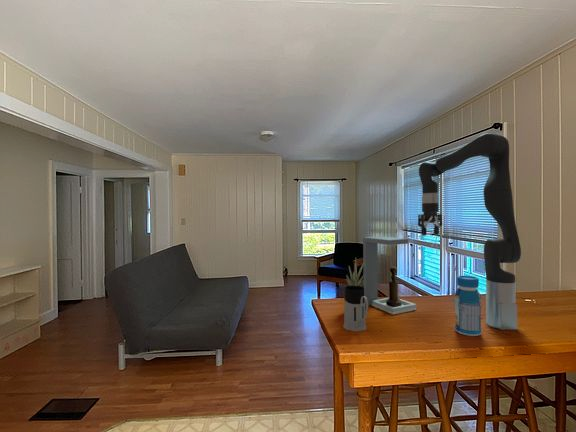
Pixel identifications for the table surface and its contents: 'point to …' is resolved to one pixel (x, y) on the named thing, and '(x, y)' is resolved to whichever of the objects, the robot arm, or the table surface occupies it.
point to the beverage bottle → (468, 306)
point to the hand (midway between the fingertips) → (430, 235)
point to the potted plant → (355, 278)
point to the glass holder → (355, 308)
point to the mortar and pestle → (393, 290)
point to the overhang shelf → (372, 274)
